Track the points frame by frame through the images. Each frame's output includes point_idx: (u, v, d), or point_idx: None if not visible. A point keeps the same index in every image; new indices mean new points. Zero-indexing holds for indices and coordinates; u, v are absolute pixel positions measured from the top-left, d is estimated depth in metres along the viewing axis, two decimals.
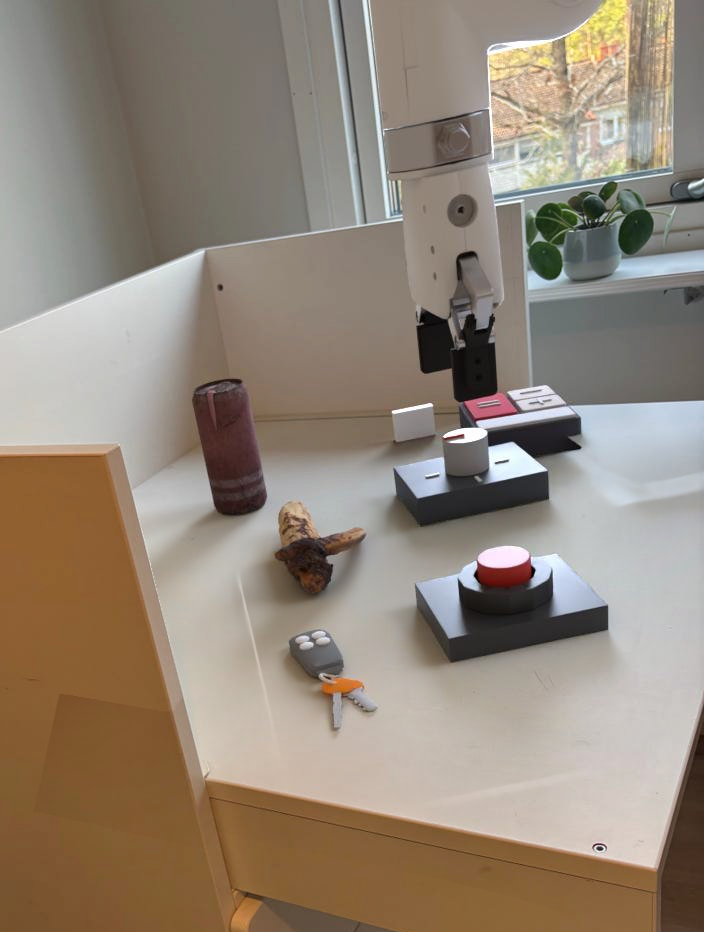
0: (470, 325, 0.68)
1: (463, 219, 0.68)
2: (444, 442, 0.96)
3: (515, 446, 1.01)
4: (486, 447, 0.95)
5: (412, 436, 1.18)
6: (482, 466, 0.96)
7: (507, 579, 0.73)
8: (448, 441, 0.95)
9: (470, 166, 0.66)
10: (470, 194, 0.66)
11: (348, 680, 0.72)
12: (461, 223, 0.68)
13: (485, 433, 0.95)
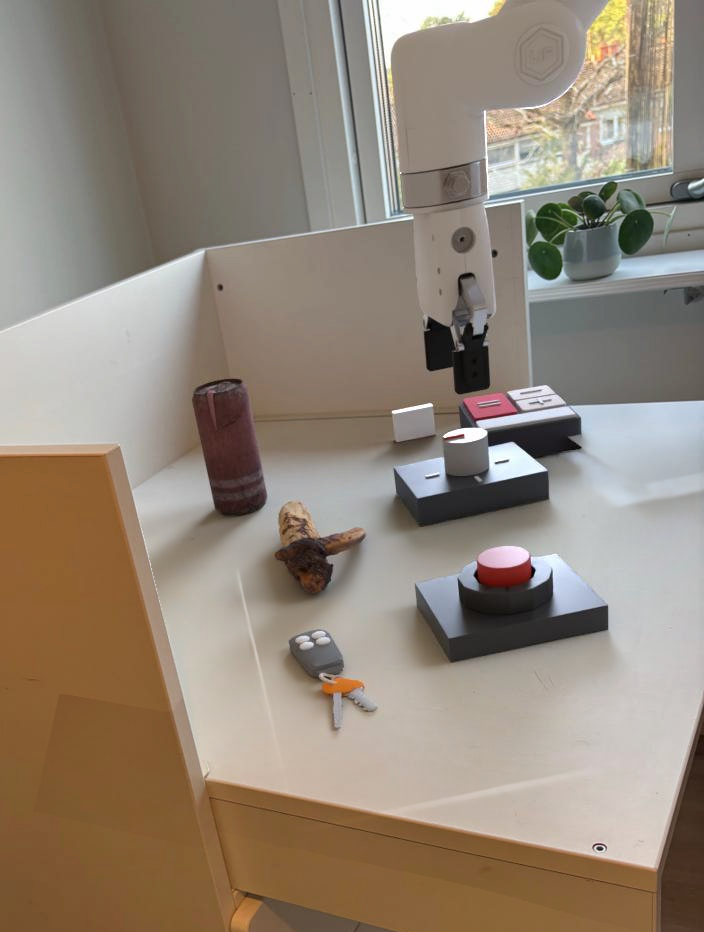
0: (468, 331, 0.84)
1: (464, 246, 0.84)
2: (444, 442, 0.96)
3: (515, 446, 1.01)
4: (486, 447, 0.95)
5: (412, 436, 1.18)
6: (482, 466, 0.96)
7: (507, 579, 0.73)
8: (448, 441, 0.95)
9: (470, 204, 0.83)
10: (470, 227, 0.82)
11: (348, 680, 0.72)
12: (462, 250, 0.84)
13: (485, 433, 0.95)
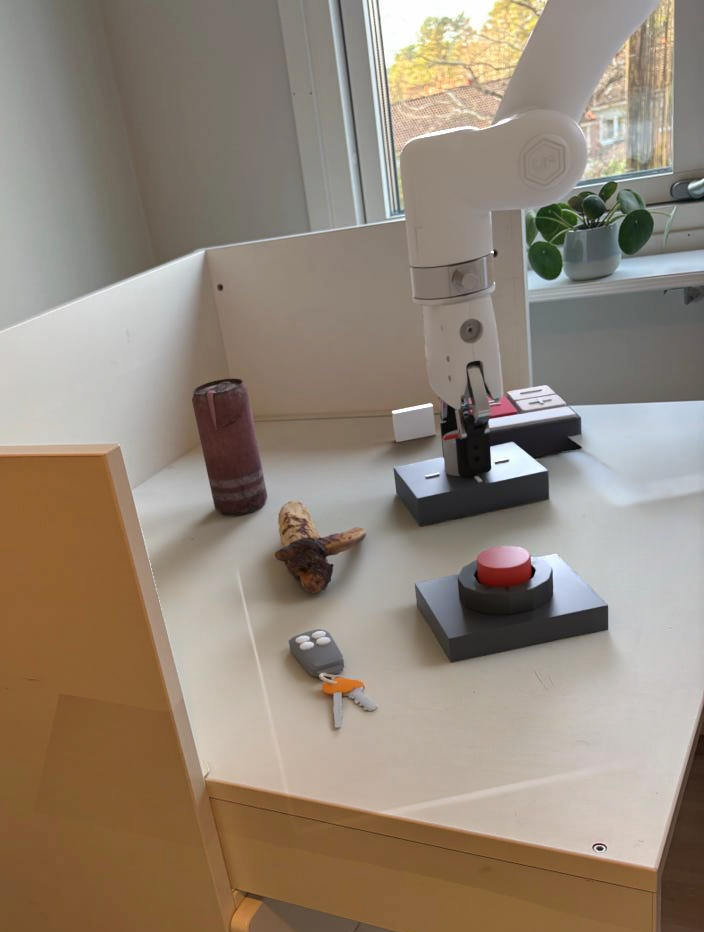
0: (470, 423, 0.90)
1: (472, 336, 0.88)
2: (444, 442, 0.96)
3: (515, 446, 1.01)
4: None
5: (412, 436, 1.18)
6: None
7: (507, 579, 0.73)
8: (448, 441, 0.95)
9: (477, 297, 0.86)
10: (477, 319, 0.86)
11: (348, 680, 0.72)
12: (470, 338, 0.88)
13: None
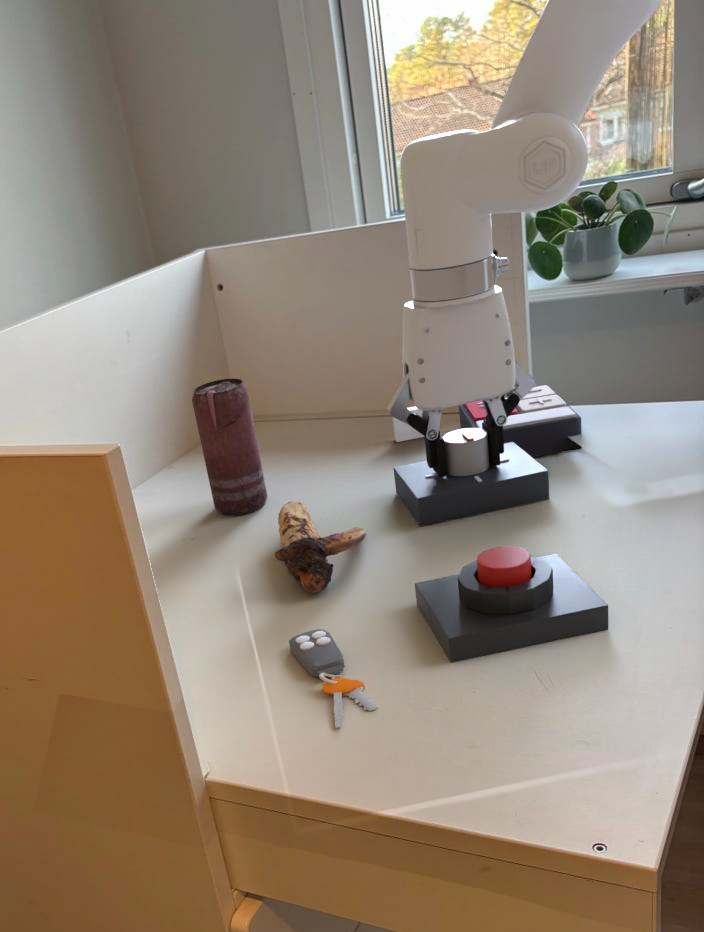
0: (517, 400, 0.94)
1: None
2: (474, 442, 0.94)
3: (515, 446, 1.01)
4: None
5: (412, 436, 1.18)
6: None
7: (507, 579, 0.73)
8: (479, 438, 0.94)
9: None
10: None
11: (349, 680, 0.72)
12: None
13: (466, 428, 0.98)
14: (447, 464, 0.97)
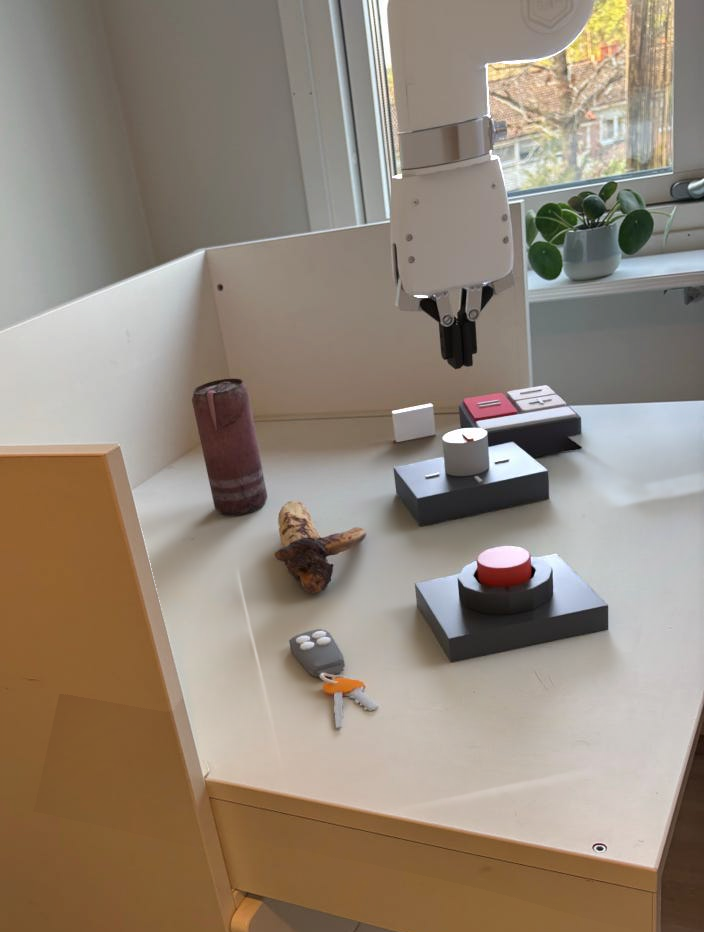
0: (491, 292, 0.86)
1: None
2: (474, 442, 0.94)
3: (515, 446, 1.01)
4: None
5: (412, 436, 1.18)
6: None
7: (507, 579, 0.73)
8: (479, 438, 0.94)
9: None
10: None
11: (349, 680, 0.72)
12: None
13: (466, 428, 0.98)
14: (447, 464, 0.97)
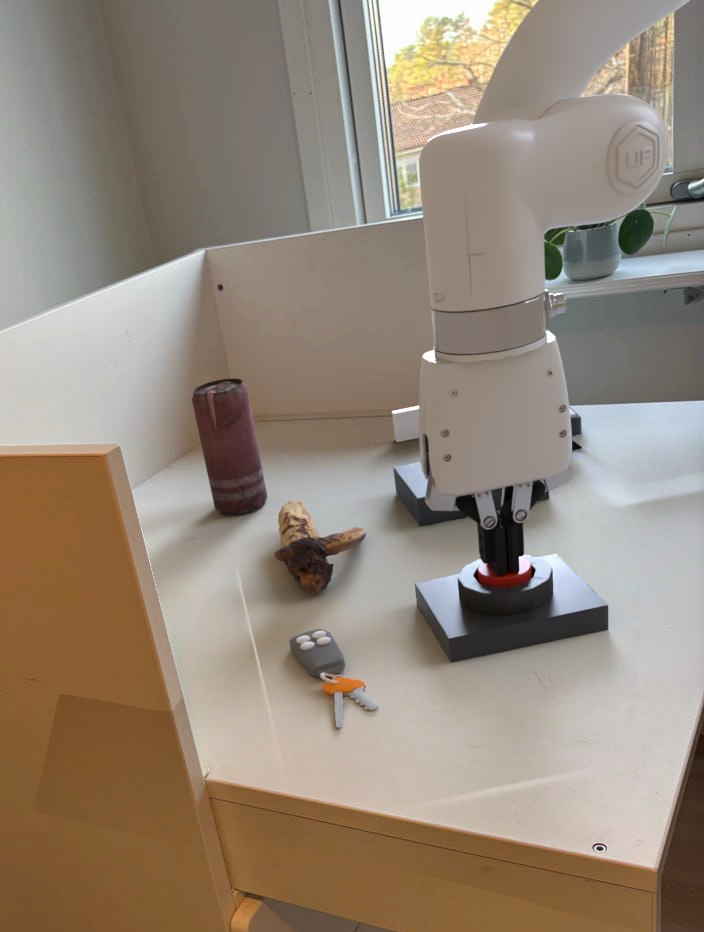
0: (542, 489, 0.71)
1: None
2: None
3: None
4: None
5: (412, 436, 1.18)
6: None
7: None
8: None
9: None
10: None
11: (349, 679, 0.72)
12: None
13: None
14: None
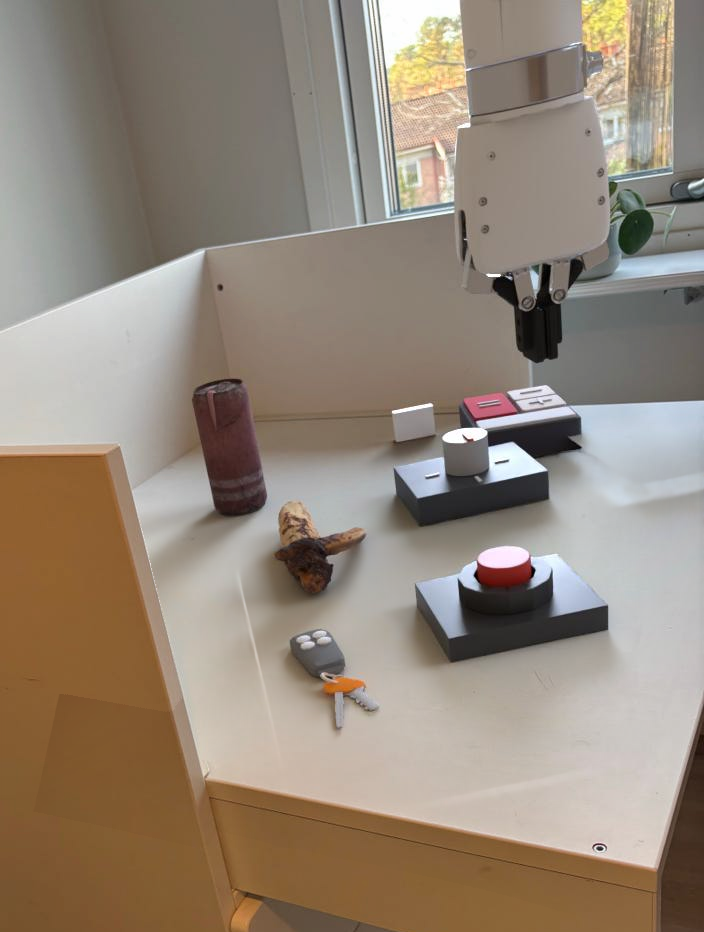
0: (580, 267, 0.70)
1: None
2: (474, 442, 0.94)
3: (515, 446, 1.01)
4: None
5: (412, 436, 1.18)
6: None
7: (507, 579, 0.73)
8: (479, 438, 0.94)
9: None
10: None
11: (350, 679, 0.72)
12: None
13: (466, 428, 0.98)
14: (447, 464, 0.97)
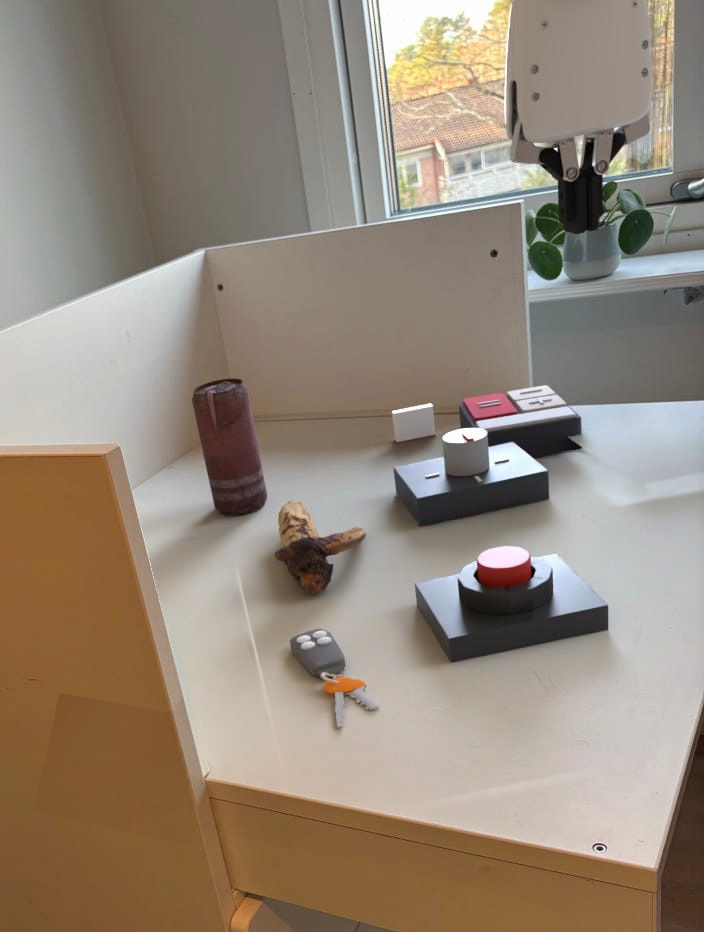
0: (622, 141, 0.75)
1: None
2: (474, 442, 0.94)
3: (515, 446, 1.01)
4: None
5: (412, 436, 1.18)
6: None
7: (507, 579, 0.73)
8: (479, 438, 0.94)
9: None
10: None
11: (350, 679, 0.72)
12: None
13: (466, 428, 0.98)
14: (447, 464, 0.97)
